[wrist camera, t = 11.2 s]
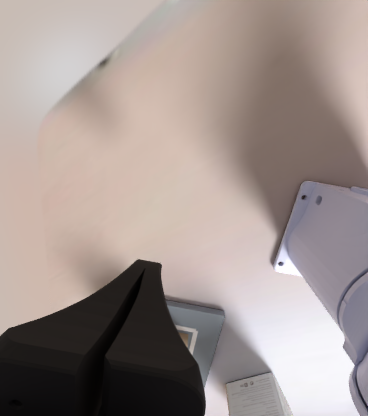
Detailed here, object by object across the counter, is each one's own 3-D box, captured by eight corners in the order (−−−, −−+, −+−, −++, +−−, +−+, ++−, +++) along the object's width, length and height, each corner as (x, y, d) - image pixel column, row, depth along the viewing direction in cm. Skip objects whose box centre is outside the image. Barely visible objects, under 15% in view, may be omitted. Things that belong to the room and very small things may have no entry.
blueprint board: (112, 289, 25) (109, 295, 24) (224, 310, 25) (224, 316, 24) (106, 369, 29) (103, 376, 29) (202, 387, 29) (202, 395, 28)
